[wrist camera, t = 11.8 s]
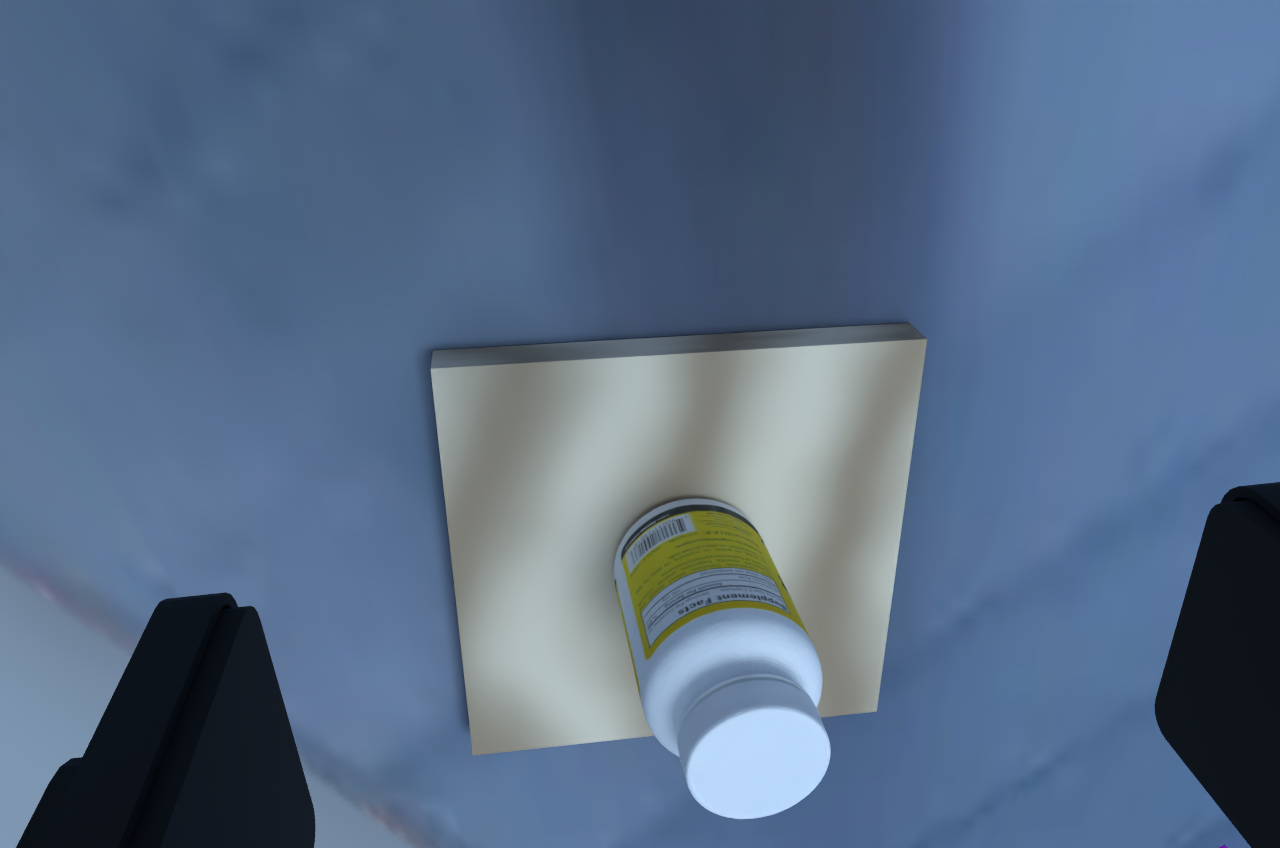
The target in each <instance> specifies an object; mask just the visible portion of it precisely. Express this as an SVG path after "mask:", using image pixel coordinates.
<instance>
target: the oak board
mask: <svg viewBox="0 0 1280 848" xmlns="http://www.w3.org/2000/svg"><path fill="white" fill-rule="evenodd" d="M926 344H927V338H926V337H924V336H923V335H922V334H921V333H920V332H919V331H918V330H917V329H916V328H915V327H913V326H912V325H911V324H910V323H899V324H881V325H864V326H847V327H829V328H812V329H795V330H777V331H760V332H743V333H725V334H708V335H691V336H673V337H656V338H639V339H621V340H604V341H587V342H569V343H552V344H535V345H517V346H500V347H483V348H465V349H448V350H433V352H432V361H431V378H432V387H433V396H434V405H435V414H436V423H437V432H438V442H439V451H440V460H441V469H442V478H443V487H444V496H445V505H446V515H447V524H448V533H449V542H450V551H451V560H452V569H453V579H454V588H455V597H456V606H457V615H458V624H459V633H460V642H461V652H462V661H463V670H464V679H465V688H466V697H467V706H468V716H469V725H470V734H471V743H472V752H473V755H481V754H490V753H499V752H509V751H518V750H527V749H536V748H545V747H554V746H564V745H573V744H582V743H591V742H600V741H609V740H619V739H628V738H637V737H646V736H654V734H653V733H652V731H651V729H650V727H649V725H648V723H647V721H646V718H645V715H644V711H643V708H642V705H641V700H640V696H639V692H638V687H637V682H636V678H635V673H634V668H633V664H632V660H631V655H630V651H629V646H628V642H627V638H626V633H625V628H624V624H623V620H622V615H621V611H620V606H619V602H618V597H617V592H616V587H615V581H614V563H615V557H616V553H617V550H618V548H619V546H620V544H621V541H622V540H623V538H624V536H625V535H626V533H627V532H628V531H629V529H630V528H631V527H632V526H633V525H634V524H635V523H636V522H637V521H638V520H639V519H640V518H642V517H643V516H644V515H646V514H647V513H649V512H650V511H652V510H654V509H656V508H657V507H660V506H662V505H665V504H667V503H670V502H673V501H678V500H682V499H709V500H715V501H718V502H722V503H724V504H727V505H729V506H731V507H733V508H735V509H737V510H738V511H740V512H741V513H742V514H744V515H745V516H746V517H747V518H748V519H749V520H750V521H751V522H752V523H753V525H754V526H755V528H756V529H757V531H758V532H759V534H760V536H761V538H762V539H763V541H764V544H765V546H766V548H767V550H768V552H769V554H770V556H771V558H772V560H773V562H774V564H775V566H776V568H777V571H778V573H779V574H780V577H781V579H782V581H783V583H784V585H785V587H786V588H787V591H788V593H789V595H790V597H791V599H792V601H793V603H794V606H795V608H796V610H797V612H798V614H799V616H800V618H801V620H802V622H803V624H804V626H805V628H806V630H807V632H808V634H809V636H810V638H811V640H812V642H813V644H814V647H815V650H816V652H817V655H818V658H819V661H820V664H821V670H822V691H821V697H820V700H819V703H818V706H817V710H818V712H819V715H820V717H829V716H839V715H848V714H857V713H866V712H875V711H877V704H878V697H879V690H880V682H881V675H882V668H883V660H884V653H885V646H886V638H887V631H888V624H889V616H890V609H891V601H892V594H893V587H894V579H895V572H896V565H897V557H898V550H899V543H900V535H901V528H902V521H903V513H904V506H905V498H906V491H907V484H908V476H909V469H910V462H911V454H912V447H913V440H914V432H915V425H916V417H917V410H918V403H919V395H920V388H921V381H922V373H923V366H924V359H925V351H926Z"/></svg>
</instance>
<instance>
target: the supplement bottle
mask: <svg viewBox="0 0 1280 848" xmlns="http://www.w3.org/2000/svg"><path fill="white" fill-rule="evenodd" d="M614 581H615V587H616V592H617V597H618V602H619V606H620V611H621V615H622V620H623V624H624V628H625V633H626V638H627V642H628V646H629V651H630V655H631V660H632V664H633V668H634V673H635V678H636V682H637V687H638V692H639V696H640V700H641V705H642V708H643V711H644V715H645V718H646V721H647V723H648V725H649V727H650V729H651V731H652V733H653V734H654V736H655V737H656V738H657V739H658V741H659V742H660V743H661V744H662V745H663V746H664V747H666V748H667V749H668V750H669V751H670V752H672V753H674V754H675V755H677V756H679V757H680V760H681V764H682V768H683V771H684V775H685V779H686V782H687V785H688V788H689V790H690V792H691V794H692V795H693V797H694V798H695V799H696V800H697V801H698V802H699V803H700V804H701V805H702V806H703V807H704V808H706V809H708V810H709V811H711V812H713V813H716V814H718V815H721V816H724V817H729V818H736V819H752V818H759V817H765V816H769V815H772V814H775V813H778V812H781V811H783V810H785V809H788V808H790V807H791V806H793V805H795V804H796V803H798V802H799V801H801V800H802V799H803V798H805V797H806V796H807V795H808V794H810V793H811V792H812V791H813V789H814V788H815V787H816V786H817V785H818V784H819V782H820V781H821V779H822V778H823V776H824V774H825V772H826V770H827V767H828V764H829V761H830V754H831V751H830V742H829V738H828V735H827V733H826V730H825V728H824V726H823V723H822V721H821V718H820V715H819V712H818V710H817V706H818V703H819V700H820V697H821V691H822V670H821V664H820V661H819V658H818V655H817V652H816V650H815V647H814V644H813V642H812V640H811V638H810V636H809V634H808V632H807V630H806V628H805V626H804V624H803V622H802V620H801V618H800V616H799V614H798V612H797V610H796V608H795V606H794V603H793V601H792V599H791V597H790V595H789V593H788V591H787V588H786V587H785V585H784V583H783V581H782V579H781V577H780V574H779V573H778V571H777V568H776V566H775V564H774V562H773V560H772V558H771V556H770V554H769V552H768V550H767V548H766V546H765V544H764V541H763V539H762V538H761V536H760V534H759V532H758V531H757V529H756V528H755V526H754V525H753V523H752V522H751V521H750V520H749V519H748V518H747V517H746V516H745V515H744V514H742V513H741V512H740V511H738V510H737V509H735V508H733V507H731V506H729V505H727V504H724V503H722V502H718V501H715V500H709V499H682V500H678V501H673V502H670V503H667V504H665V505H662V506H660V507H657V508H656V509H654V510H652V511H650V512H649V513H647V514H646V515H644V516H643V517H642V518H640V519H639V520H638V521H637V522H636V523H635V524H634V525H633V526H632V527H631V528H630V529H629V531H628V532H627V533H626V535H625V536H624V538H623V540H622V541H621V544H620V546H619V548H618V550H617V553H616V557H615V563H614Z"/></svg>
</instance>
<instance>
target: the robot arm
mask: <svg viewBox="0 0 1280 848" xmlns="http://www.w3.org/2000/svg"><path fill="white" fill-rule="evenodd" d="M1155 715H1156V719H1157V723H1158V726H1159V728H1160V730H1161V733H1162V734H1163V736H1164V737H1165V739H1166V740H1167V741H1168V743H1169V744H1170V745H1171V747H1172V748H1173V749H1174V750H1175V752H1176V753H1177V754H1178V755H1179V757H1180V758H1181V759H1182V760H1183V762H1184V763H1185V764H1186V765H1187V767H1188V768H1189V769H1190V771H1191V772H1192V773H1193V774H1194V776H1195V777H1196V778H1197V779H1198V781H1199V782H1200V783H1201V784H1202V786H1203V787H1204V788H1205V790H1206V791H1207V792H1208V793H1209V795H1210V796H1211V797H1212V798H1213V800H1214V801H1215V802H1216V803H1217V805H1218V806H1219V807H1220V809H1221V810H1222V811H1223V812H1224V814H1225V815H1226V816H1227V817H1228V819H1229V820H1230V821H1231V822H1232V824H1233V825H1234V826H1235V828H1236V829H1237V830H1238V831H1239V833H1240V834H1241V835H1242V836H1243V838H1244V839H1245V840H1246V841H1247V843H1248V844H1249V845H1250V846H1251V848H1280V482H1277V483H1267V484H1258V485H1248V486H1239V487H1236V488H1233V489H1230V490H1229V491H1228V492H1227V493H1226V494H1225V495H1224V497H1223V499H1222V501H1221V503H1220V504H1217V505H1215V506H1214V507H1213V508H1212V509H1211V511H1210V513H1209V515H1208V517H1207V521H1206V524H1205V528H1204V531H1203V535H1202V538H1201V542H1200V545H1199V549H1198V552H1197V556H1196V559H1195V563H1194V566H1193V570H1192V573H1191V577H1190V580H1189V584H1188V587H1187V591H1186V594H1185V598H1184V601H1183V605H1182V608H1181V612H1180V615H1179V619H1178V622H1177V626H1176V629H1175V633H1174V636H1173V640H1172V643H1171V647H1170V650H1169V654H1168V657H1167V661H1166V664H1165V668H1164V671H1163V675H1162V678H1161V682H1160V685H1159V689H1158V692H1157V696H1156V700H1155ZM314 842H315V815H314V808H313V804H312V801H311V797H310V793H309V790H308V786H307V783H306V779H305V776H304V772H303V769H302V765H301V762H300V758H299V754H298V751H297V747H296V744H295V740H294V737H293V733H292V730H291V726H290V723H289V719H288V716H287V712H286V709H285V705H284V702H283V698H282V695H281V691H280V688H279V684H278V681H277V677H276V674H275V670H274V667H273V663H272V660H271V656H270V653H269V649H268V646H267V642H266V639H265V635H264V632H263V628H262V624H261V621H260V618H259V615H258V613H257V611H256V609H255V608H254V607H252V606H246V607H238V606H237V603H236V601H235V599H234V598H233V597H232V595H231V594H228V593H218V594H208V595H199V596H189V597H180V598H170V599H165V600H163V601H161V602H159V604H158V605H157V607H156V608H155V610H154V612H153V614H152V616H151V618H150V620H149V622H148V624H147V626H146V628H145V630H144V632H143V634H142V636H141V638H140V641H139V643H138V645H137V647H136V649H135V651H134V653H133V655H132V657H131V659H130V661H129V663H128V665H127V667H126V669H125V672H124V673H123V675H122V678H121V680H120V682H119V684H118V686H117V688H116V690H115V692H114V694H113V696H112V698H111V700H110V702H109V704H108V706H107V708H106V710H105V712H104V715H103V716H102V718H101V721H100V723H99V725H98V727H97V729H96V731H95V733H94V735H93V737H92V739H91V741H90V743H89V745H88V747H87V749H86V751H85V754H84V755H83V757H81V758H72V759H70V760H69V761H68V762H66V763H65V764H63V765H62V766H61V767H60V768H59V769H58V771H57V772H56V774H55V775H54V777H53V778H52V780H51V781H50V783H49V784H48V786H47V788H46V790H45V792H44V794H43V796H42V798H41V800H40V802H39V804H38V806H37V808H36V810H35V812H34V814H33V816H32V818H31V820H30V821H29V823H28V825H27V827H26V829H25V831H24V833H23V835H22V837H21V839H20V841H19V843H18V845H17V847H16V848H314Z"/></svg>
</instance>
